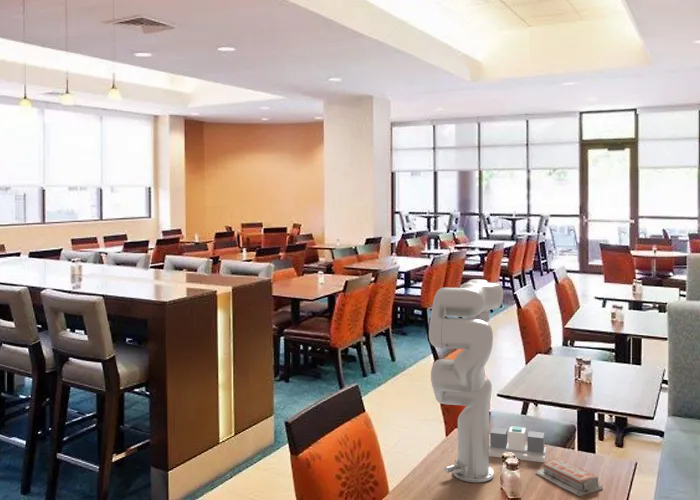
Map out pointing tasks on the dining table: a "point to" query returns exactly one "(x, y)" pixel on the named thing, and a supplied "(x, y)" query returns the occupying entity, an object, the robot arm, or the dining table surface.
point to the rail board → (531, 452)
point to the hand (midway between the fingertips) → (478, 365)
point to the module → (517, 438)
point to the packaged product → (569, 477)
